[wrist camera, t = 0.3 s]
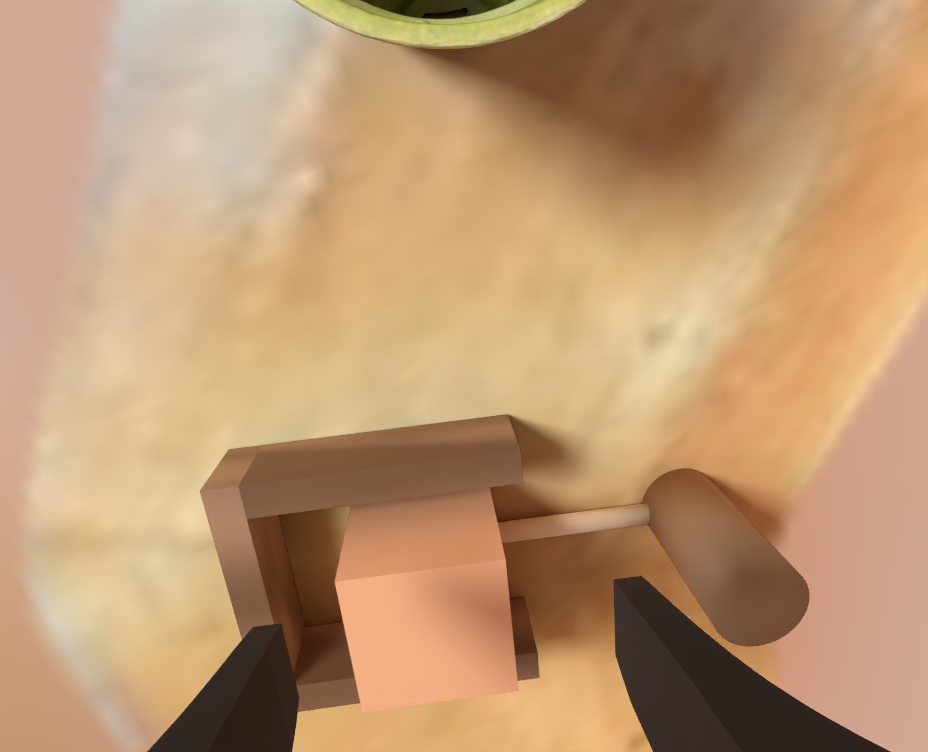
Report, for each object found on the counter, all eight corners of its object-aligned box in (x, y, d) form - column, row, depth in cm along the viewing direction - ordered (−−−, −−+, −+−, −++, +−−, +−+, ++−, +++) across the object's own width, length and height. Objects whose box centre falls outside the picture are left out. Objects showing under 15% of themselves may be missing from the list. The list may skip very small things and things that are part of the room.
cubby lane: (525, 620, 25) (539, 677, 22) (282, 654, 25) (264, 716, 22) (507, 414, 22) (520, 450, 19) (228, 449, 22) (199, 491, 19)
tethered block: (714, 550, 24) (802, 664, 19) (374, 596, 24) (360, 726, 18) (718, 441, 23) (816, 529, 17) (354, 487, 22) (331, 593, 17)
